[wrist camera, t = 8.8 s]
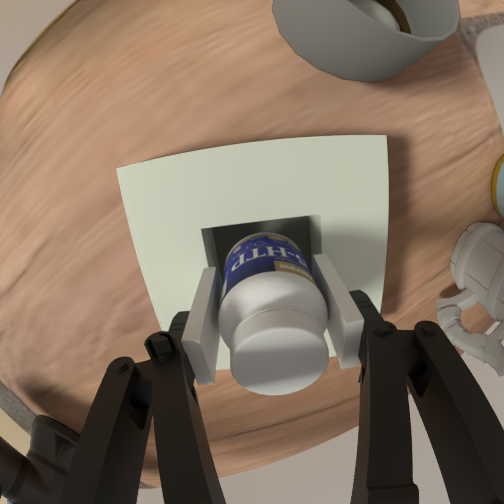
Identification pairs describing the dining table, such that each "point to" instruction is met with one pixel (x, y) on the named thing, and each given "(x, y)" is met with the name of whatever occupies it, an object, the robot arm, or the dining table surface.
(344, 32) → the cup
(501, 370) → the mug
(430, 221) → the dining table surface
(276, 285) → the pill bottle
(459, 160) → the dining table surface
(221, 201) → the socket block
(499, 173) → the bottle
